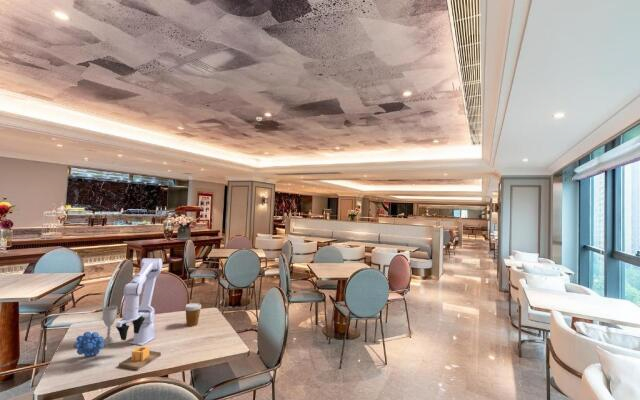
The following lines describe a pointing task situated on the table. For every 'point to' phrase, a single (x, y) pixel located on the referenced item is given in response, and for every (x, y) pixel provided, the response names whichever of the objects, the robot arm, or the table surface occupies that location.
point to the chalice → (109, 321)
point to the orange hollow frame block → (140, 353)
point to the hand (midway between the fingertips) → (130, 336)
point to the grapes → (89, 344)
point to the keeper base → (139, 364)
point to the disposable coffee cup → (192, 313)
